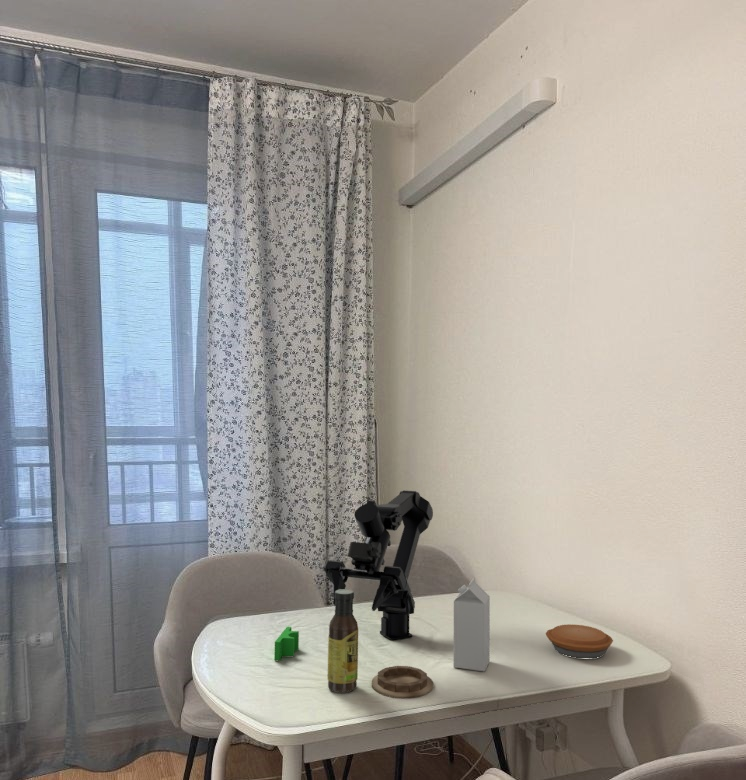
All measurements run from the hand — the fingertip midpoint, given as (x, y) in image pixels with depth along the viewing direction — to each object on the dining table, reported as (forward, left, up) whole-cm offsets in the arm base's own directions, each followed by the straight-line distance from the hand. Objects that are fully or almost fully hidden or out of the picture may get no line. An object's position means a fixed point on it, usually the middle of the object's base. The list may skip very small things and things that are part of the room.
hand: (353, 607), depth 144 cm
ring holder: (-7, +10, -14) cm, 19 cm away
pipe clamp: (+9, -18, -15) cm, 25 cm away
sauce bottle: (+5, +6, -15) cm, 17 cm away
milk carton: (-27, +7, -15) cm, 31 cm away
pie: (-56, +11, -15) cm, 59 cm away
